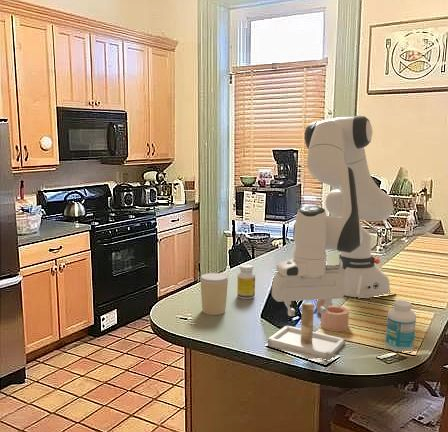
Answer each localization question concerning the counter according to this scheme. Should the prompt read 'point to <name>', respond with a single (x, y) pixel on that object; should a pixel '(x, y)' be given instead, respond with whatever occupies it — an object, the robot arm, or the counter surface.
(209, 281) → the coffee cup
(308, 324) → the dowel
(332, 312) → the cup
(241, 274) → the pill bottle
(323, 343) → the tray
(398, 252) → the counter surface
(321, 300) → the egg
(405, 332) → the pill bottle
